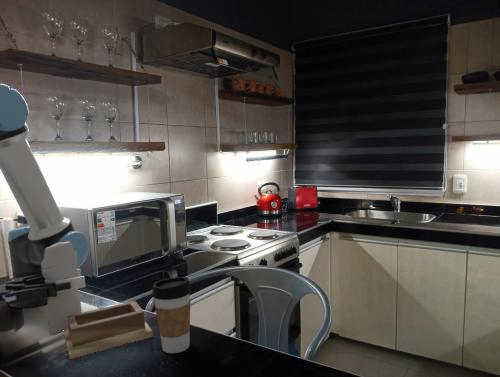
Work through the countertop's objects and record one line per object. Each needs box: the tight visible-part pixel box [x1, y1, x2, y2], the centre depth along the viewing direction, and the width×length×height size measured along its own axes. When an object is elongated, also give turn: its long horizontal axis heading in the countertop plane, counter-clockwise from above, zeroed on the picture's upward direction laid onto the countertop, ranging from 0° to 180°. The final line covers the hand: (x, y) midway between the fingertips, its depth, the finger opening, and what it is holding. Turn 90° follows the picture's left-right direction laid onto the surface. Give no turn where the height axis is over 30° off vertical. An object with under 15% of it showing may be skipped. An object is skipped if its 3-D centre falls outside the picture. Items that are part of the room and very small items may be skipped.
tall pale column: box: [41, 242, 83, 336], centre depth 103 cm, size 11×4×22 cm, turn 156°
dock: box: [63, 300, 154, 360], centre depth 97 cm, size 14×18×6 cm
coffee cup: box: [151, 276, 192, 354], centre depth 90 cm, size 8×8×15 cm
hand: (82, 277), depth 105 cm, fingers open, 7 cm apart
